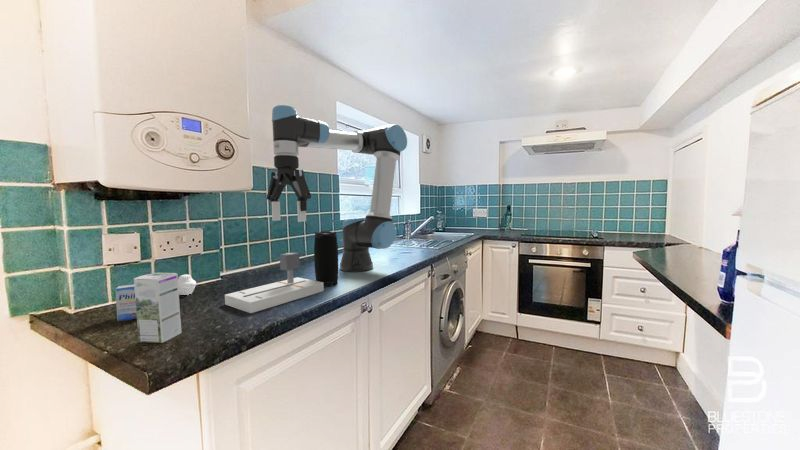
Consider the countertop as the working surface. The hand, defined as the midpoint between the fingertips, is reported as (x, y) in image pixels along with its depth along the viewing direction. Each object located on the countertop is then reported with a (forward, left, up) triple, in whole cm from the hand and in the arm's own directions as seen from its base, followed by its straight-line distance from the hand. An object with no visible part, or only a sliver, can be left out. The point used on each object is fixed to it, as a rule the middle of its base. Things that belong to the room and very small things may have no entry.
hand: (288, 221), depth 102 cm
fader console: (+5, 0, -24) cm, 25 cm away
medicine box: (+36, -17, -25) cm, 47 cm away
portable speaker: (-15, +1, -25) cm, 29 cm away
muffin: (+20, -29, -25) cm, 43 cm away
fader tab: (0, 0, -21) cm, 21 cm away
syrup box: (+38, +5, -25) cm, 46 cm away
